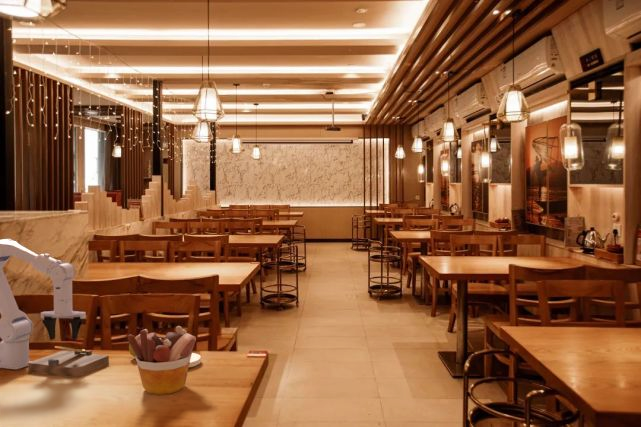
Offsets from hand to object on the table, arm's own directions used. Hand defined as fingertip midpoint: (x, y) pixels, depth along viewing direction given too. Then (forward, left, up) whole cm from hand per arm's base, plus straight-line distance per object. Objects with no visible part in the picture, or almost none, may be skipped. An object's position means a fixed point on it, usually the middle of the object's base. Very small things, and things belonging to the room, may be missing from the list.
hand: (63, 339), depth 189 cm
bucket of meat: (+45, -8, -10) cm, 46 cm away
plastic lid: (+36, +15, -10) cm, 40 cm away
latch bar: (+2, +2, -4) cm, 5 cm away
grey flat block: (+2, +1, -10) cm, 10 cm away
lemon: (+17, +17, -10) cm, 26 cm away
